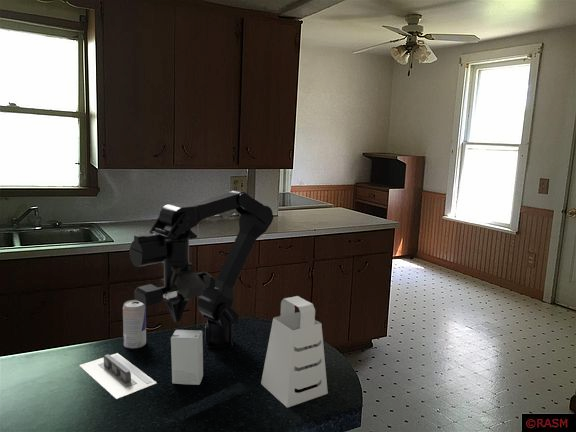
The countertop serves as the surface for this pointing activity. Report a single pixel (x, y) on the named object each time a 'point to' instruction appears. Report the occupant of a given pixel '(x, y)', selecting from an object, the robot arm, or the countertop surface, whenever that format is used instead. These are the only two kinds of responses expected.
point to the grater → (295, 354)
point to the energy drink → (134, 324)
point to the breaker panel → (117, 377)
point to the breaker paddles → (117, 368)
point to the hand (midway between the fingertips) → (176, 321)
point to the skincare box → (187, 357)
